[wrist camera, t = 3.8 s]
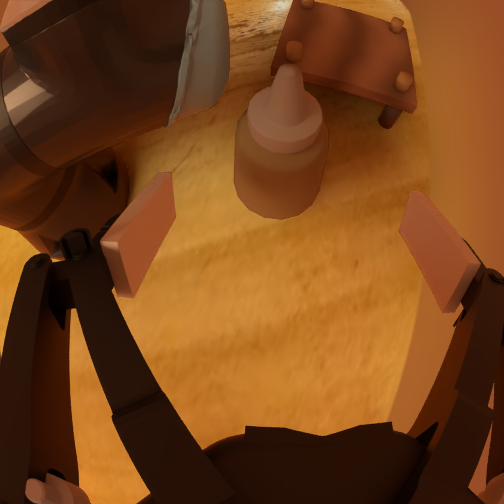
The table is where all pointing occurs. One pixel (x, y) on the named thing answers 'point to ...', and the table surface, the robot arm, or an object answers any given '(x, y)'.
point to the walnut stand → (350, 55)
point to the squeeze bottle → (280, 148)
